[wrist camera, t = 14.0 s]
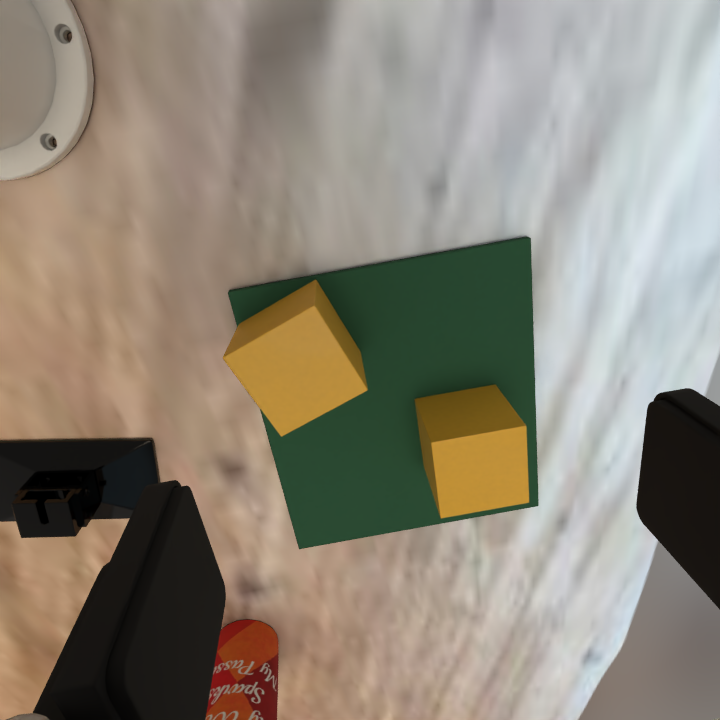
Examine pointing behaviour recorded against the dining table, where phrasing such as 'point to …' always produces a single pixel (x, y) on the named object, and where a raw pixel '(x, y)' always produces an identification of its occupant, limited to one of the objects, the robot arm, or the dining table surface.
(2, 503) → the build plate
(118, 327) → the dining table surface
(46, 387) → the dining table surface
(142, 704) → the robot arm
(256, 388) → the yellow block
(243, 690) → the paper cup
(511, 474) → the yellow block
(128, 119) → the dining table surface
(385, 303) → the towel
